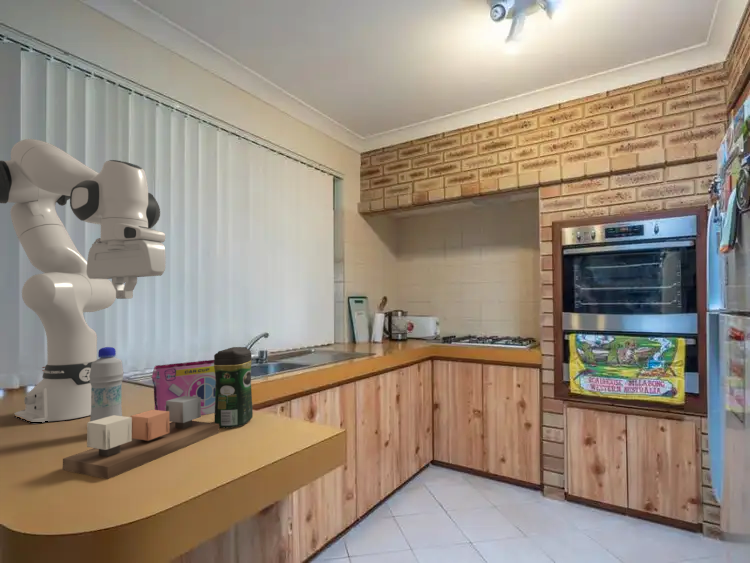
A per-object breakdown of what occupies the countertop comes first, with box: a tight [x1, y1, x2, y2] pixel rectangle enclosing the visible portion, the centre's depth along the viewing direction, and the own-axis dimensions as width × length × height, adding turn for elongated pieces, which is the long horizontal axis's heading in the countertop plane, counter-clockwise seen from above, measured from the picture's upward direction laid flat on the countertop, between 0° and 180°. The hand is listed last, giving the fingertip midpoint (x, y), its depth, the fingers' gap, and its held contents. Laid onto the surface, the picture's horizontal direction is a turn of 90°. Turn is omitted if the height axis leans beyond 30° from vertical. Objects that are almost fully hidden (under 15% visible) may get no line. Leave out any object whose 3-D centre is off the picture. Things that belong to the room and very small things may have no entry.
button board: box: [62, 420, 220, 480], centre depth 84 cm, size 12×26×6 cm, turn 158°
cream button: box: [86, 415, 132, 450], centre depth 76 cm, size 5×5×4 cm
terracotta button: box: [129, 409, 170, 441], centre depth 84 cm, size 5×5×4 cm
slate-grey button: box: [166, 396, 202, 423], centre depth 92 cm, size 5×5×4 cm
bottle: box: [89, 346, 124, 422], centre depth 95 cm, size 7×7×20 cm
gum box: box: [151, 359, 216, 416], centre depth 113 cm, size 24×8×14 cm, turn 127°
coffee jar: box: [213, 346, 254, 429], centre depth 101 cm, size 10×8×19 cm
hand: (124, 298), depth 88 cm, fingers closed
